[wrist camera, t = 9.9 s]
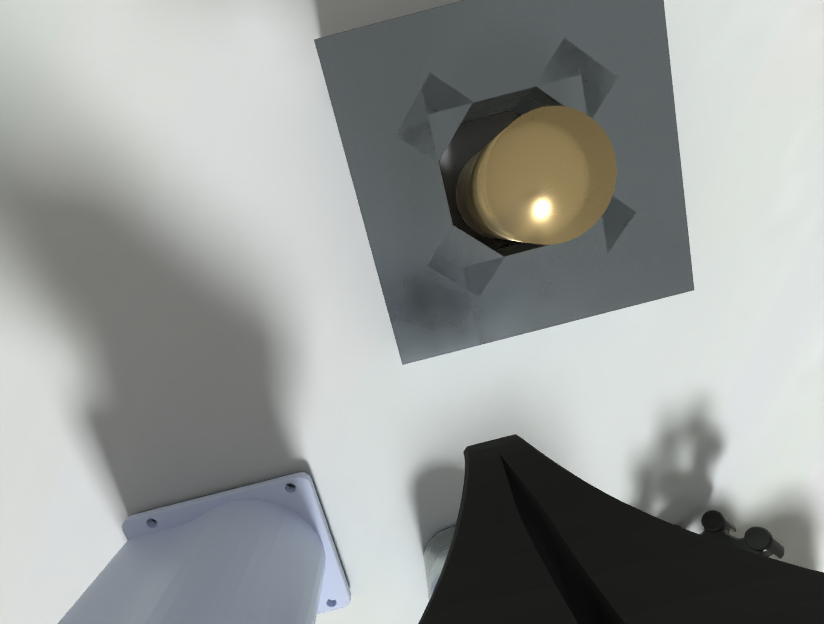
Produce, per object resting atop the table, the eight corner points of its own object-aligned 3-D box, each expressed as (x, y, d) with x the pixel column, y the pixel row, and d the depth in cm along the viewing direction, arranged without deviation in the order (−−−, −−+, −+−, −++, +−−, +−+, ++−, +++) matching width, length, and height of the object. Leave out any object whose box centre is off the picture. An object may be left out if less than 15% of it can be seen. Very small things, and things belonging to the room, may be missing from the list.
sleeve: (452, 592, 23) (466, 672, 19) (410, 553, 22) (416, 629, 18) (504, 554, 22) (530, 629, 18) (463, 514, 21) (481, 583, 17)
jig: (401, 343, 19) (402, 364, 17) (327, 71, 17) (314, 39, 14) (648, 280, 19) (694, 290, 16) (611, -3, 17) (658, -52, 14)
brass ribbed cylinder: (466, 248, 19) (499, 258, 13) (447, 157, 18) (473, 123, 12) (551, 226, 19) (624, 227, 13) (536, 135, 18) (607, 91, 12)
